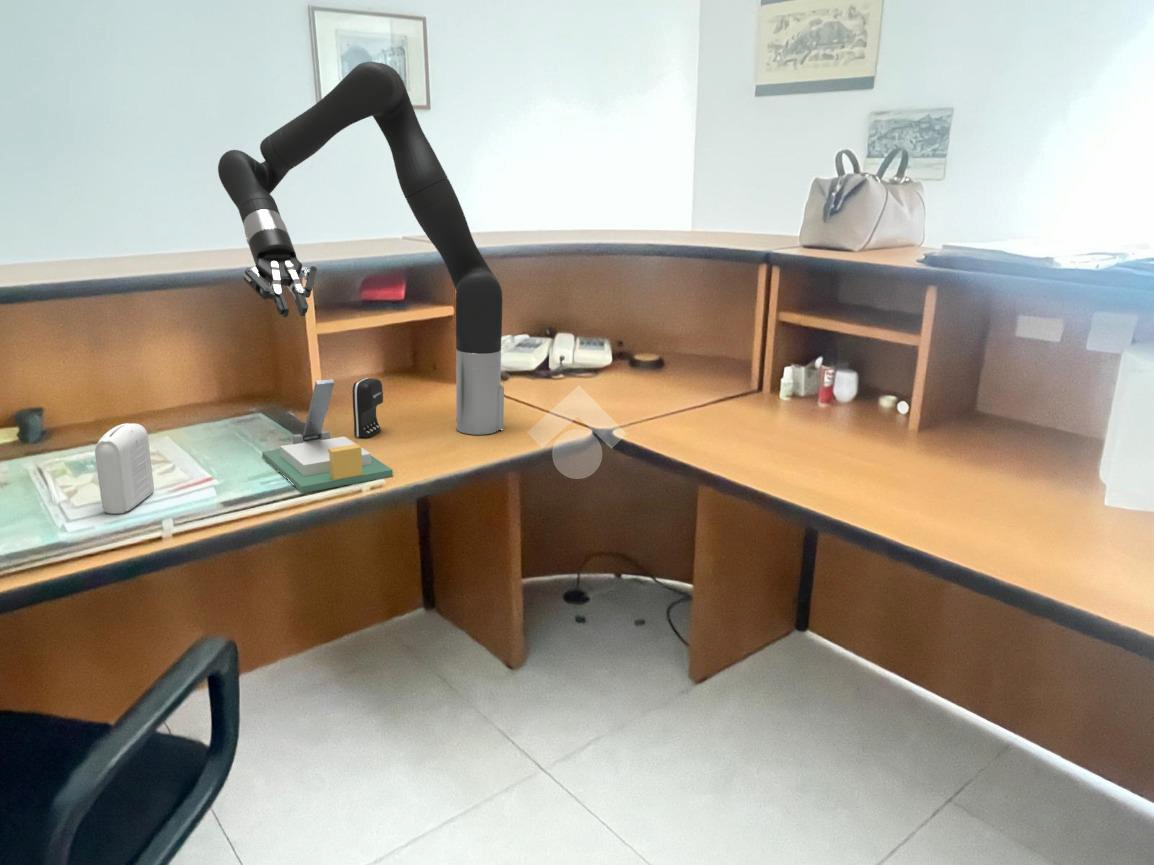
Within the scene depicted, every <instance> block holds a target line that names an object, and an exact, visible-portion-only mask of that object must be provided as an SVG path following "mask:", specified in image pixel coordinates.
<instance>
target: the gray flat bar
mask: <svg viewBox="0 0 1154 865" xmlns="http://www.w3.org/2000/svg"><path fill="white" fill-rule="evenodd" d="M334 385H335V381H334V378H329V379H321V380H316V381H315V382H314V388H313V392H312V395H311V400H310V404H309V407H308V412H307V415H306V420H305V423H304V424H305V425H304V429H303V432H302V434H301V435H302V436H303V443H305V442H312V441H318V440H319V439H320V438H321V436H320V435H321V431H323V427H324V423H325V419H326V415H327V411H328V408H329V404H330V400H331V397H332V393H333V390H334Z"/></svg>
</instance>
